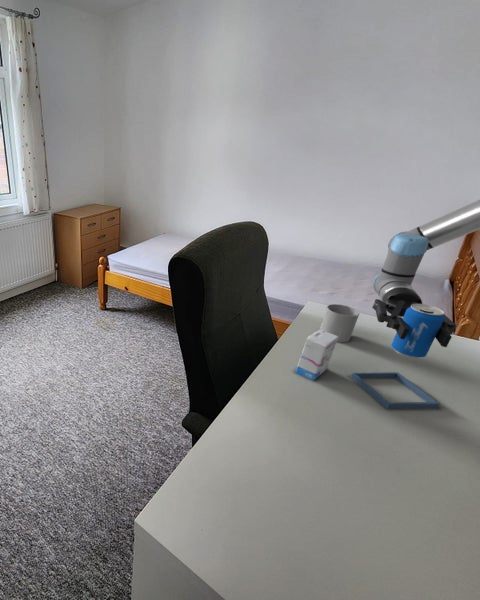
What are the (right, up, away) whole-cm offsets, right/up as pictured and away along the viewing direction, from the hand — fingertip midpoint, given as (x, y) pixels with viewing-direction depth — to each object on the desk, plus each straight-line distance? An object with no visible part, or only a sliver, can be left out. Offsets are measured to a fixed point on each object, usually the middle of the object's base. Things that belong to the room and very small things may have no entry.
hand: (425, 337), depth 76 cm
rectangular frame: (+2, -16, +11) cm, 19 cm away
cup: (+6, -4, +36) cm, 37 cm away
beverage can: (+3, -5, +7) cm, 9 cm away
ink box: (-13, -12, +19) cm, 26 cm away
